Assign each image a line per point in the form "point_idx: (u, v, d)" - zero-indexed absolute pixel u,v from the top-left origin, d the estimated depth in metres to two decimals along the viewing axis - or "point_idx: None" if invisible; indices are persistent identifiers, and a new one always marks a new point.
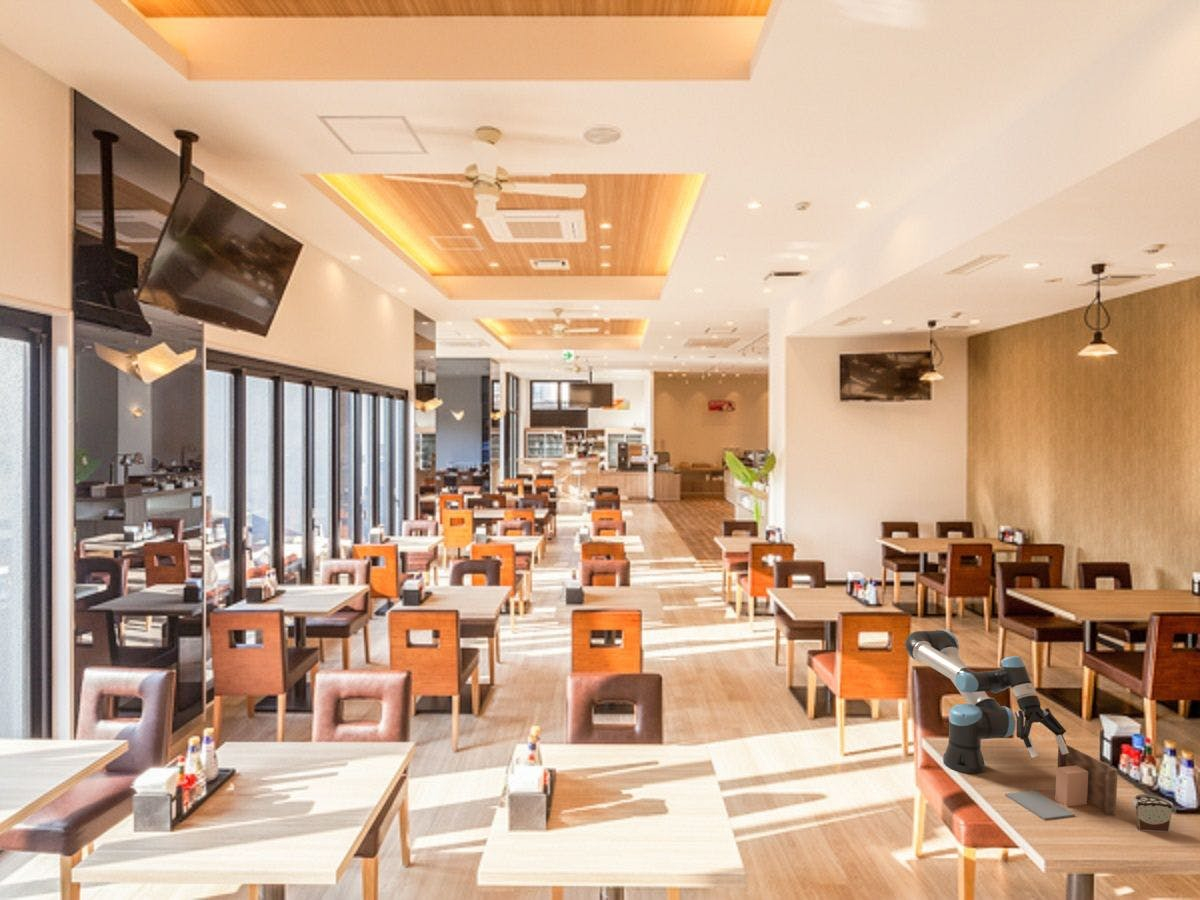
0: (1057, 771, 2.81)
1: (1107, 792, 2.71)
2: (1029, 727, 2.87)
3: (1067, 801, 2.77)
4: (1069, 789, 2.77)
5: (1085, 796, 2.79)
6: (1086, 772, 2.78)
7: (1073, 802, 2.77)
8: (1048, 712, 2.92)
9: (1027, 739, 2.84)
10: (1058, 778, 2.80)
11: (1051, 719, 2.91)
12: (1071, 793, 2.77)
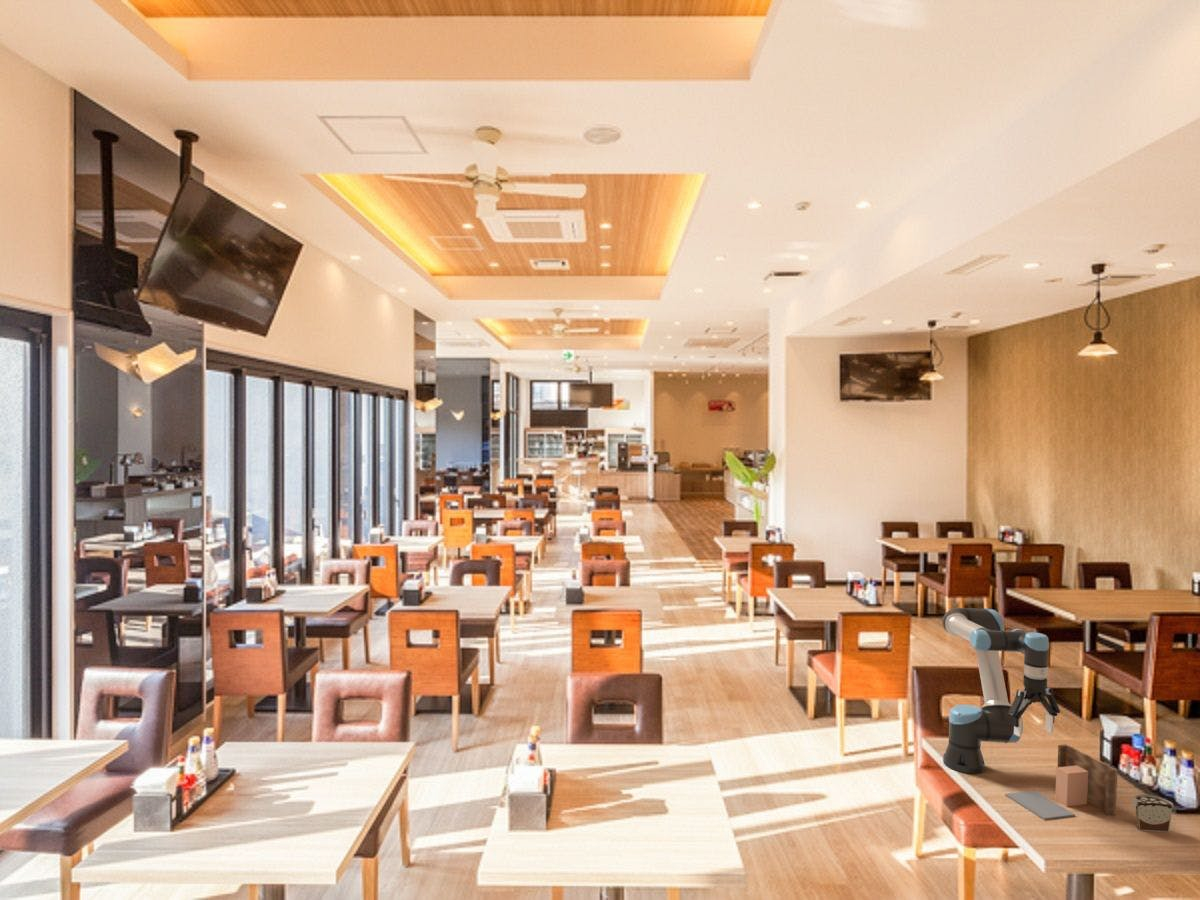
0: (1057, 771, 2.81)
1: (1107, 792, 2.71)
2: (1024, 709, 2.77)
3: (1067, 801, 2.77)
4: (1069, 789, 2.77)
5: (1085, 796, 2.79)
6: (1086, 772, 2.78)
7: (1073, 802, 2.77)
8: (1050, 693, 2.80)
9: (1017, 720, 2.78)
10: (1058, 778, 2.80)
11: (1050, 699, 2.81)
12: (1071, 793, 2.77)
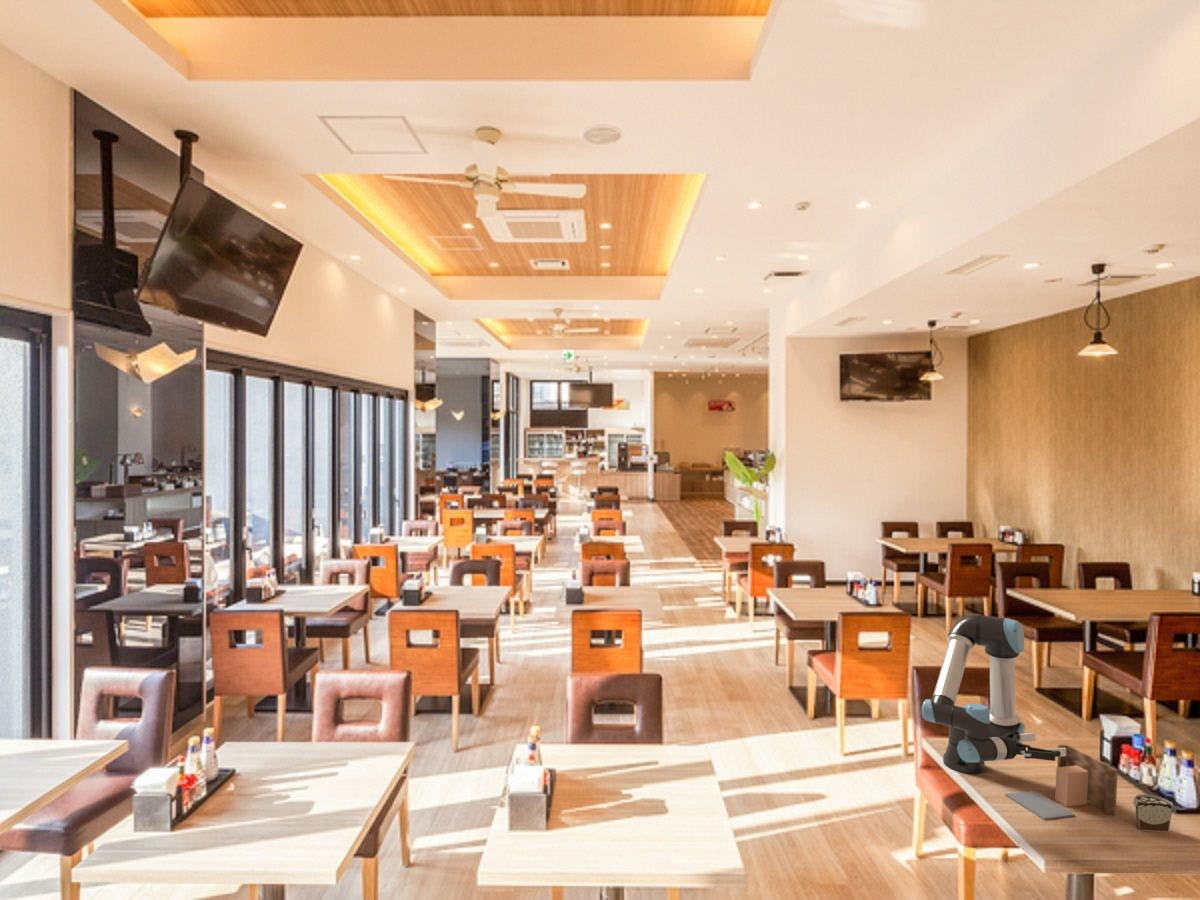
0: (1057, 771, 2.81)
1: (1107, 792, 2.71)
2: None
3: (1067, 801, 2.77)
4: (1069, 789, 2.77)
5: (1085, 796, 2.79)
6: (1086, 772, 2.78)
7: (1073, 802, 2.77)
8: None
9: None
10: (1058, 778, 2.80)
11: None
12: (1071, 793, 2.77)
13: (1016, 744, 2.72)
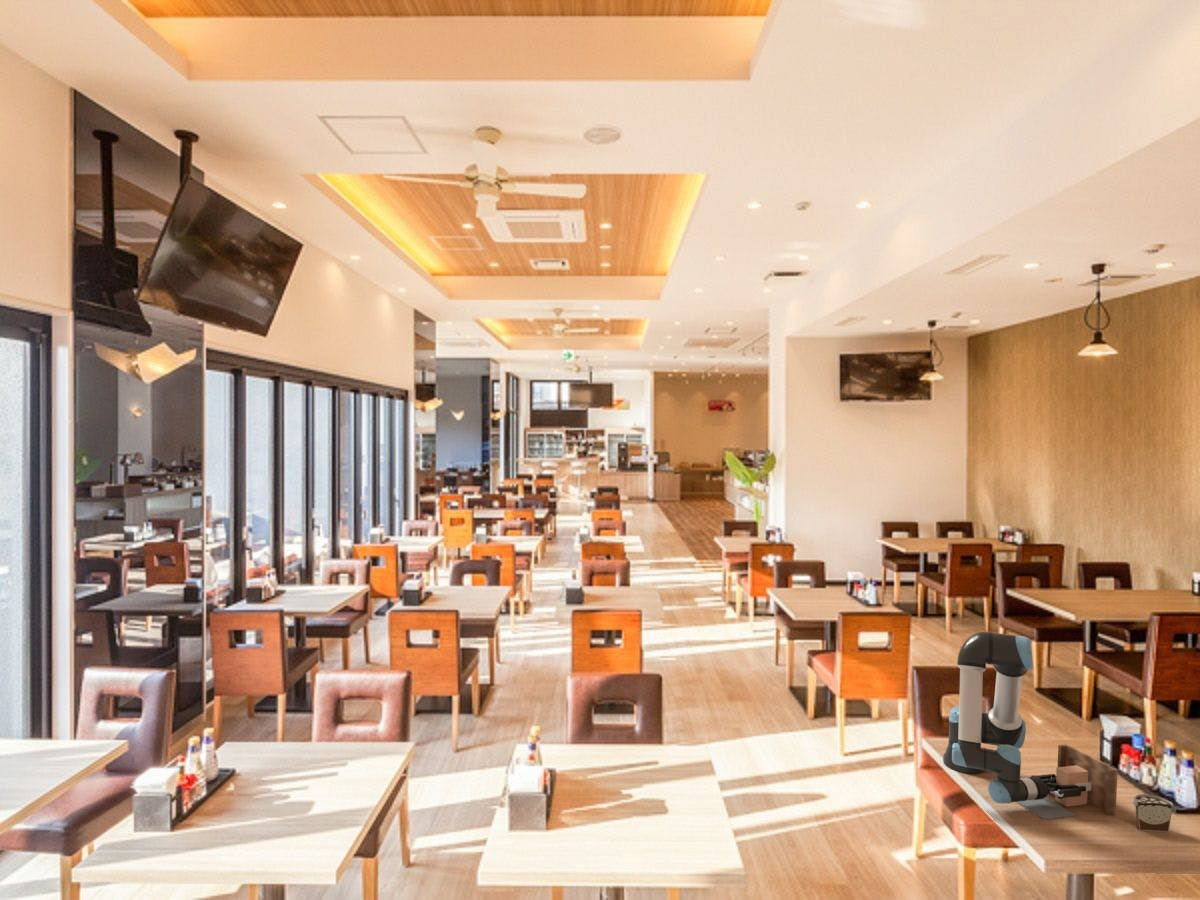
0: (1057, 771, 2.81)
1: (1107, 792, 2.71)
2: None
3: (1067, 801, 2.77)
4: None
5: (1085, 796, 2.79)
6: (1086, 772, 2.78)
7: (1073, 802, 2.77)
8: None
9: None
10: (1058, 778, 2.80)
11: None
12: None
13: (1047, 785, 2.76)
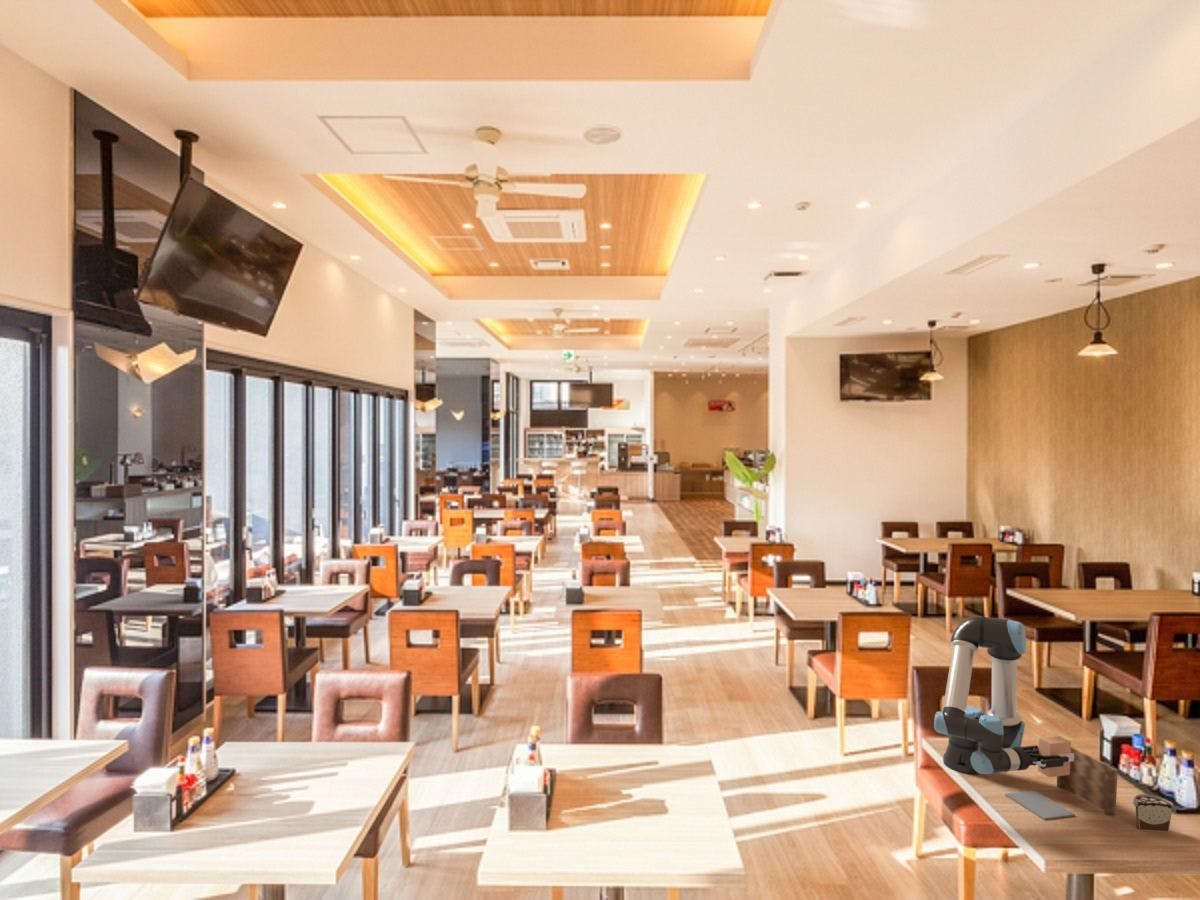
0: (1040, 741, 2.78)
1: (1107, 792, 2.71)
2: None
3: (1050, 771, 2.74)
4: None
5: (1068, 767, 2.76)
6: (1069, 742, 2.76)
7: (1056, 773, 2.75)
8: None
9: None
10: (1041, 749, 2.77)
11: None
12: None
13: (1029, 755, 2.73)
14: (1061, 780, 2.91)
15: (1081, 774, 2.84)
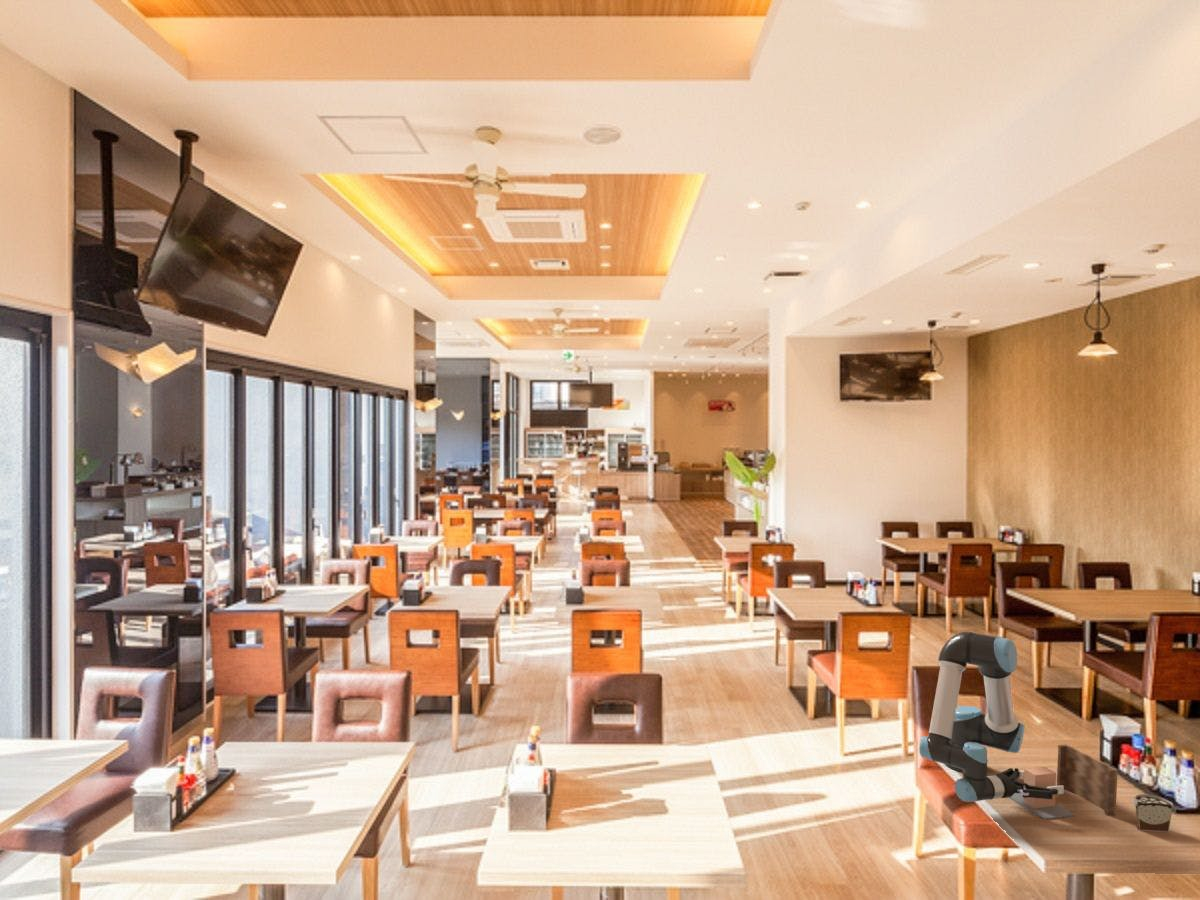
0: (1025, 772, 2.77)
1: (1107, 792, 2.71)
2: None
3: (1035, 802, 2.73)
4: None
5: (1053, 798, 2.75)
6: (1054, 774, 2.75)
7: (1041, 804, 2.74)
8: None
9: None
10: (1026, 780, 2.77)
11: None
12: None
13: (1014, 782, 2.73)
14: (1061, 780, 2.91)
15: (1081, 774, 2.84)
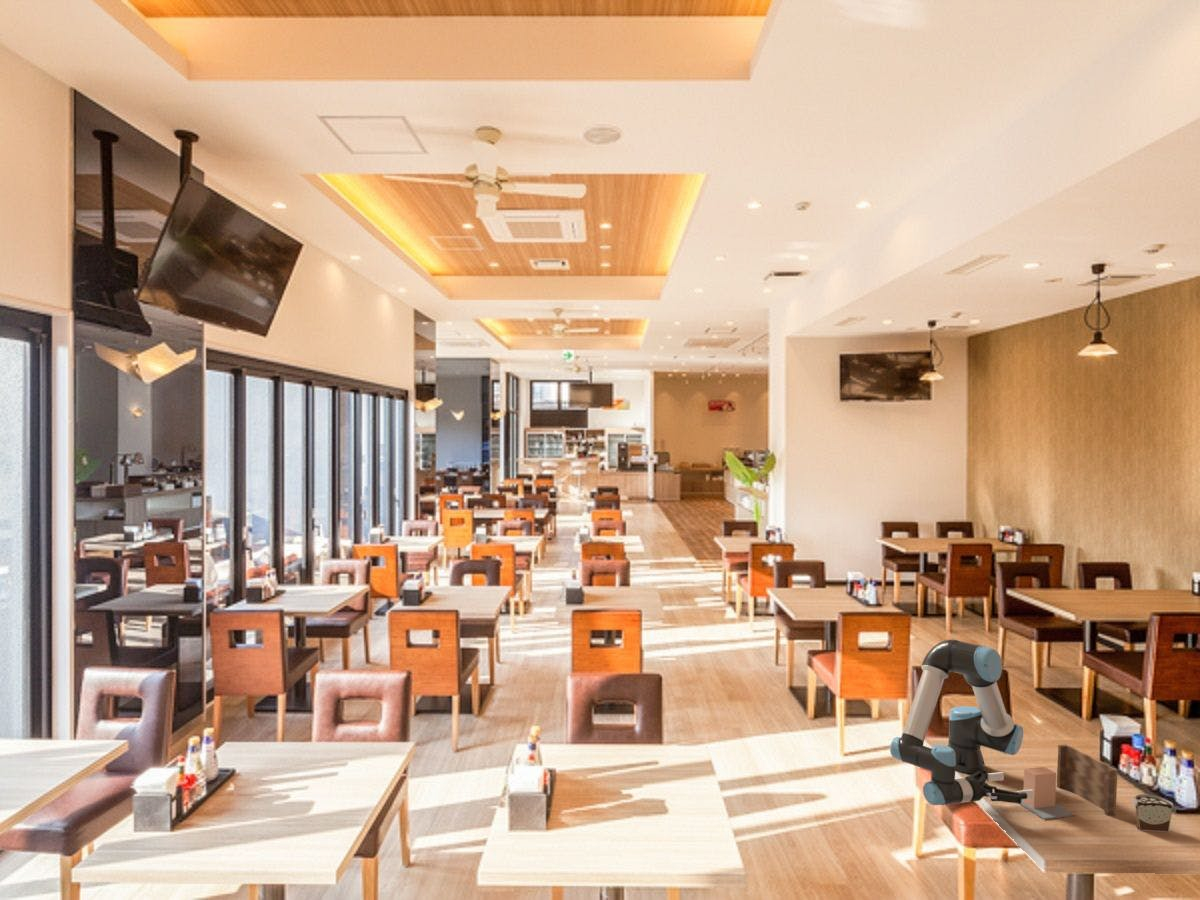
0: (1025, 772, 2.77)
1: (1107, 792, 2.71)
2: None
3: (1035, 802, 2.73)
4: (1036, 791, 2.73)
5: (1053, 798, 2.75)
6: (1054, 774, 2.75)
7: (1041, 804, 2.74)
8: None
9: None
10: (1026, 780, 2.77)
11: None
12: (1038, 794, 2.74)
13: (983, 786, 2.69)
14: (1061, 780, 2.91)
15: (1081, 774, 2.84)
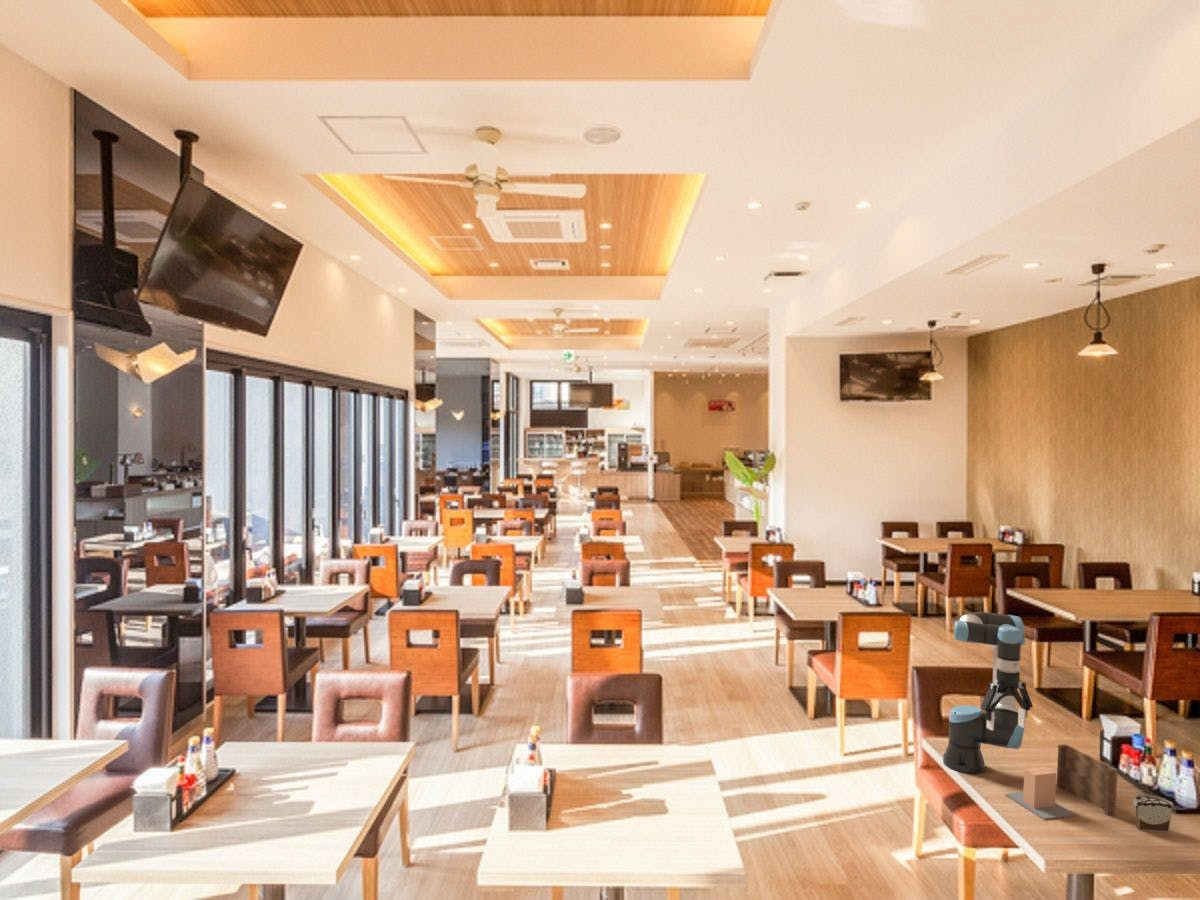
0: (1025, 772, 2.77)
1: (1107, 792, 2.71)
2: (997, 702, 2.77)
3: (1035, 802, 2.73)
4: (1036, 791, 2.73)
5: (1053, 798, 2.75)
6: (1054, 774, 2.75)
7: (1041, 804, 2.74)
8: (1023, 687, 2.79)
9: (990, 713, 2.77)
10: (1026, 780, 2.77)
11: (1023, 693, 2.80)
12: (1038, 794, 2.74)
13: None
14: (1061, 780, 2.91)
15: (1081, 774, 2.84)
